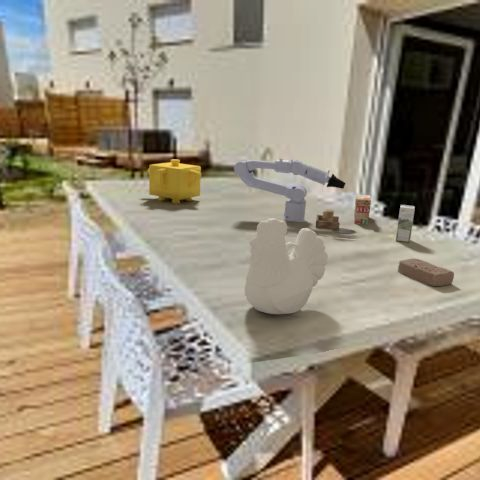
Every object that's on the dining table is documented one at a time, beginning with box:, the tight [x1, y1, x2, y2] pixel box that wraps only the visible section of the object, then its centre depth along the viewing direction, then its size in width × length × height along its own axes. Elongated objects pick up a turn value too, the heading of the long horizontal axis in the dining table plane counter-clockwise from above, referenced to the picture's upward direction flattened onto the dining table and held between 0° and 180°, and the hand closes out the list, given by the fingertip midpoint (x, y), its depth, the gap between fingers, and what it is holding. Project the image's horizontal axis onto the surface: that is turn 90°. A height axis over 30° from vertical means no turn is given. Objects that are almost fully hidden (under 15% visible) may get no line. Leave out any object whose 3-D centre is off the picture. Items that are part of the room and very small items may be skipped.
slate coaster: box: [331, 227, 357, 235], centre depth 219 cm, size 10×10×1 cm
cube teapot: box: [146, 158, 202, 204], centre depth 268 cm, size 35×30×21 cm
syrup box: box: [395, 204, 416, 244], centre depth 209 cm, size 6×6×14 cm
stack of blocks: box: [353, 193, 372, 225], centre depth 242 cm, size 21×6×12 cm, turn 168°
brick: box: [397, 257, 455, 287], centre depth 166 cm, size 17×8×5 cm, turn 27°
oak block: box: [322, 209, 335, 222], centre depth 228 cm, size 4×4×6 cm
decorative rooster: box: [244, 217, 329, 315], centre depth 133 cm, size 25×16×25 cm, turn 110°
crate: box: [315, 214, 340, 230], centre depth 228 cm, size 10×13×4 cm
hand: (344, 185), depth 227 cm, fingers open, 7 cm apart
